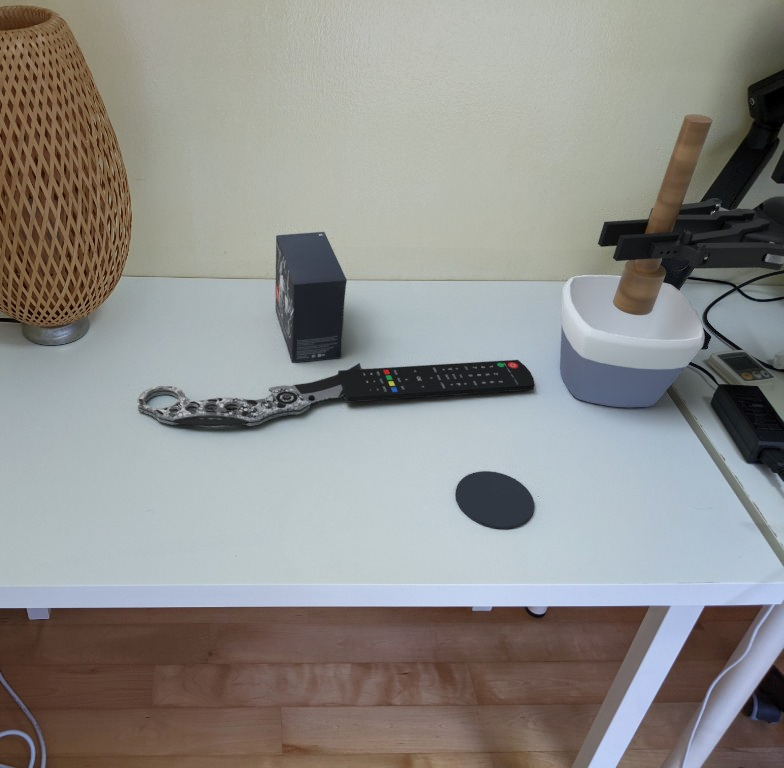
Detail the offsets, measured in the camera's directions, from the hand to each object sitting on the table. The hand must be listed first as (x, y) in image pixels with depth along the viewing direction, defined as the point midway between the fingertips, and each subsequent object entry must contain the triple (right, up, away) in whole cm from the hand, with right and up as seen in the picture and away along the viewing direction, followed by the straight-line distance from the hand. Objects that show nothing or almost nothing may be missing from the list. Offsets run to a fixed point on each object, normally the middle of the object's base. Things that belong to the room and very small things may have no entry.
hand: (610, 241), depth 85 cm
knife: (-39, -18, +8) cm, 44 cm away
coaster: (-14, -28, -4) cm, 31 cm away
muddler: (+5, -6, +6) cm, 10 cm away
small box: (-33, -9, +20) cm, 39 cm away
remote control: (-17, -16, +11) cm, 26 cm away
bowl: (+5, -15, +13) cm, 21 cm away
